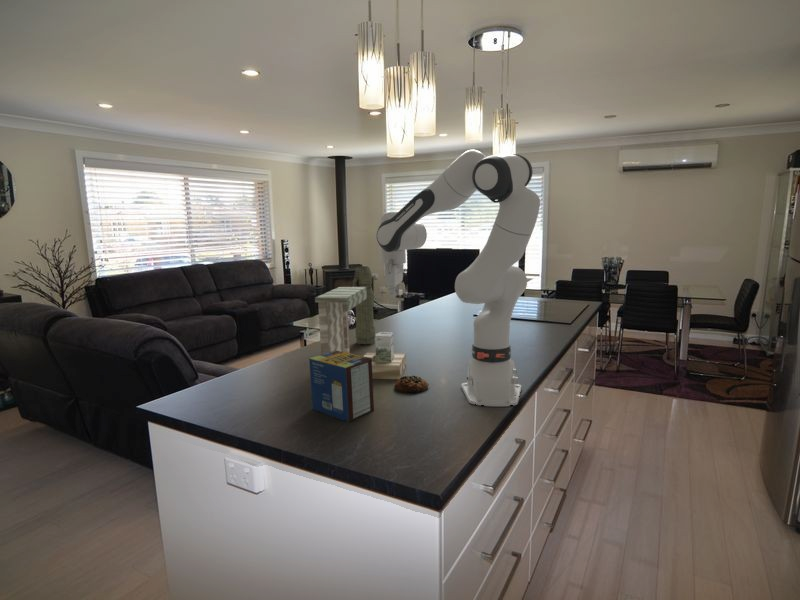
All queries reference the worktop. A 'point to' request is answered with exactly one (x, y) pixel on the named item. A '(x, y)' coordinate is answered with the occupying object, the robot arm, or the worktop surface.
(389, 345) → the syrup box
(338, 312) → the socket stand
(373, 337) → the olive green tall block
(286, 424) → the worktop surface
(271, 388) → the worktop surface
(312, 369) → the protein box
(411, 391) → the bread roll
